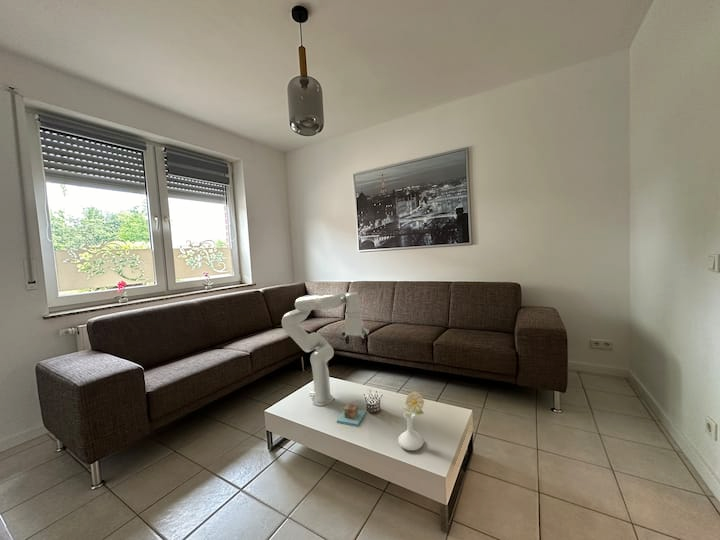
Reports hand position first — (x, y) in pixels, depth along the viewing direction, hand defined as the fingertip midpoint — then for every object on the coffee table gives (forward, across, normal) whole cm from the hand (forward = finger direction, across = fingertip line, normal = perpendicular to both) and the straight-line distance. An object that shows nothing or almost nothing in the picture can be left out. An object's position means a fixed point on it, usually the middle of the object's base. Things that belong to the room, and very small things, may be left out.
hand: (355, 344), depth 160 cm
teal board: (+36, 0, -12) cm, 38 cm away
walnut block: (+35, 0, -12) cm, 37 cm away
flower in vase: (+36, +35, -24) cm, 56 cm away
